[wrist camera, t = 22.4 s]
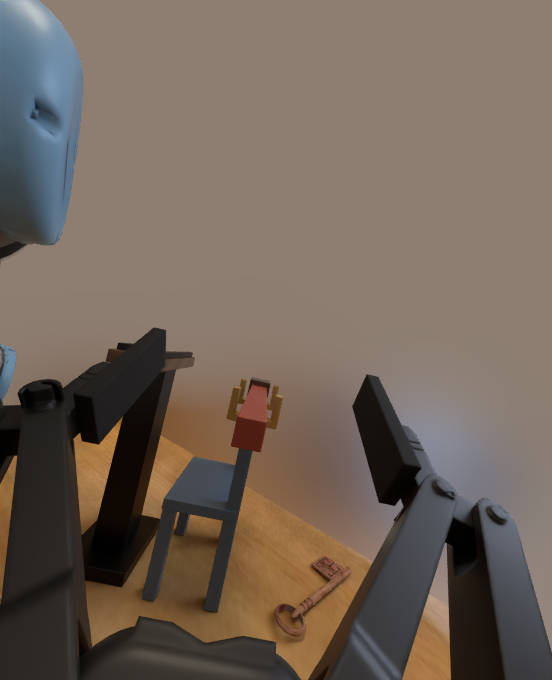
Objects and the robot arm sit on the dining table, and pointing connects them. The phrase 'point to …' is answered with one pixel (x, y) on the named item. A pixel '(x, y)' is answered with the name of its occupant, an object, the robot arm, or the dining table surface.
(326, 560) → the key
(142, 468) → the stand
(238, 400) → the chair
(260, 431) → the hanger bar
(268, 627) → the dining table surface
